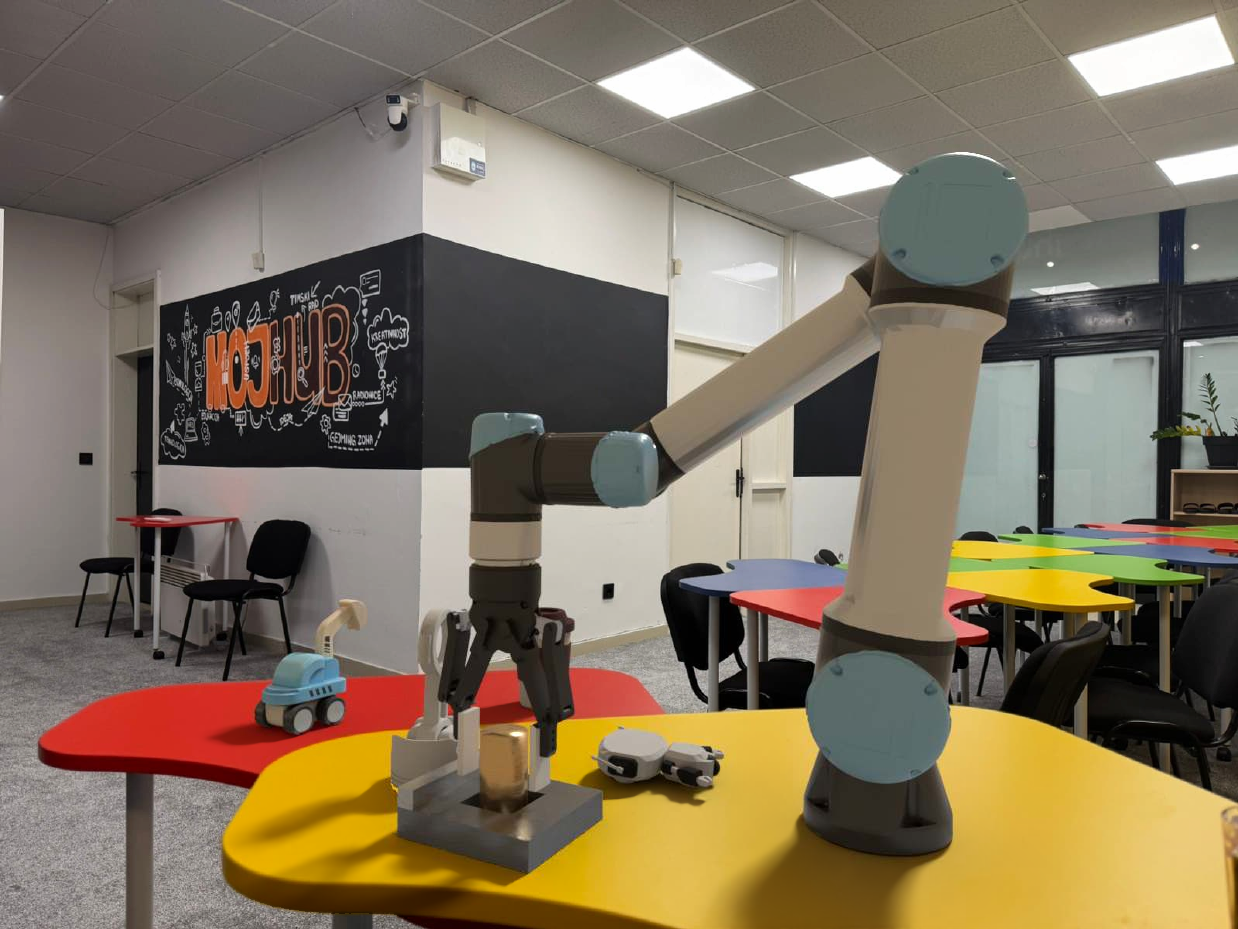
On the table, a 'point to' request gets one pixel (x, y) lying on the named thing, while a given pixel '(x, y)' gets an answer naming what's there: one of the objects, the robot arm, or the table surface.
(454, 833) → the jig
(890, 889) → the table surface
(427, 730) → the engine component
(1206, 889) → the table surface
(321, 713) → the toy excavator
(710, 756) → the robot toy
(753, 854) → the table surface
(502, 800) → the copper cylinder rod
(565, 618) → the coffee cup
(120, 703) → the table surface
